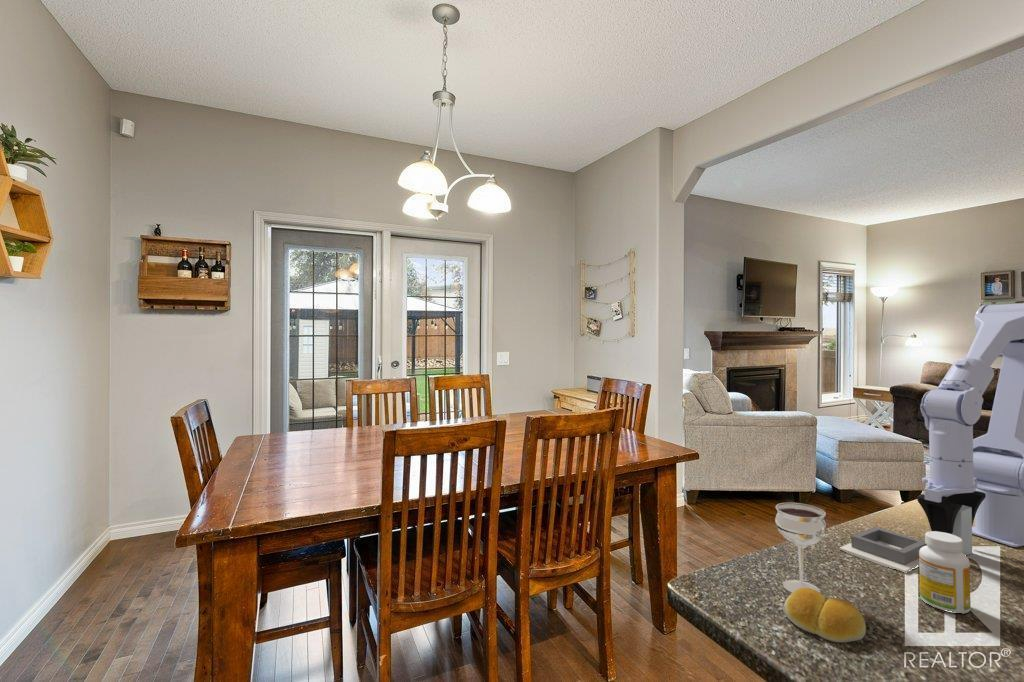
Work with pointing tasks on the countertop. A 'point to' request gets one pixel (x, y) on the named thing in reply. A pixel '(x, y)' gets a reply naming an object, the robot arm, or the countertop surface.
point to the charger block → (964, 528)
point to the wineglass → (800, 533)
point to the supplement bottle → (944, 573)
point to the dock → (885, 548)
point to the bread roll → (825, 616)
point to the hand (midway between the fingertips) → (952, 535)
